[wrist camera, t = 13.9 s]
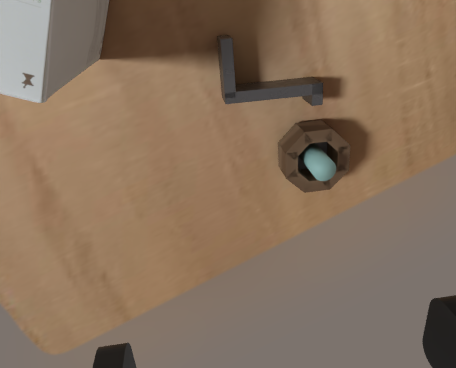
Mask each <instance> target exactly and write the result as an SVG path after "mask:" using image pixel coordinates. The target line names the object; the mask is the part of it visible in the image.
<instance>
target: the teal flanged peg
mask: <svg viewBox="0 0 456 368" xmlns="http://www.w3.org/2000/svg"><path fill="white" fill-rule="evenodd" d="M298 168H300V169H309V170H310V172H311V173H312V174H313V176H314V177H315V178H316V179H317V180H319V181H327V180H329V179H331V178H332V177H333V176H334V174H335V172H336V165H335V163H334V162H333V161H332V160H331V159H330V158H329V157H328V156H327V142H319V143H311V144H309V145H308V146H307V147H306V148H305V149H304V150H303V151H302V153H301V154H300V155H299V156H298Z"/></svg>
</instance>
